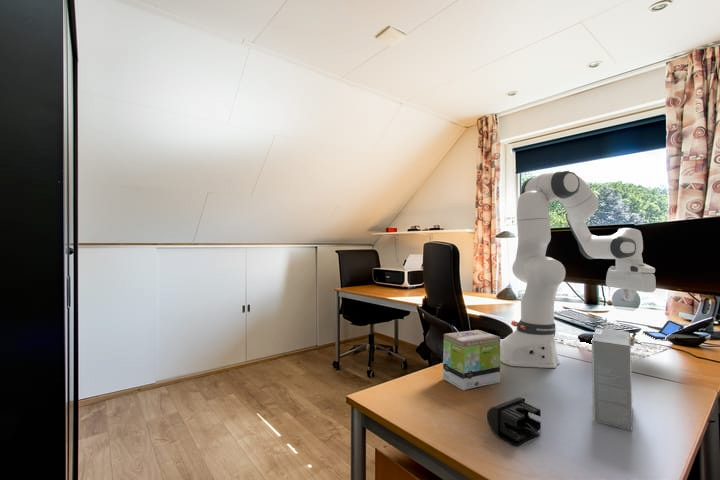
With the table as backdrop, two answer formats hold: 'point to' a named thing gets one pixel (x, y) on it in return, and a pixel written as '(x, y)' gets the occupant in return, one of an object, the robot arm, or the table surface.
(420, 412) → the table surface
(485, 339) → the tea box
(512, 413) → the end cap
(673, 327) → the handheld game console
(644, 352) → the carpet tile
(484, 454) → the table surface
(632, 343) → the brown rectangular block
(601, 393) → the hard drive box
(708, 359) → the table surface
